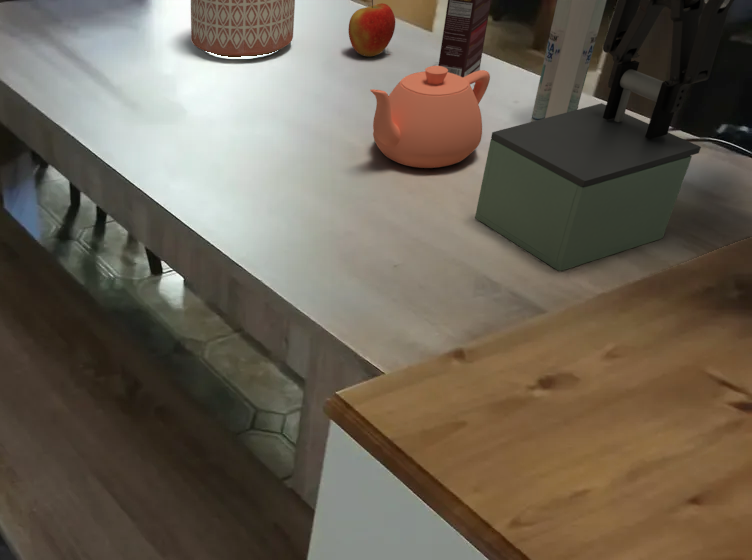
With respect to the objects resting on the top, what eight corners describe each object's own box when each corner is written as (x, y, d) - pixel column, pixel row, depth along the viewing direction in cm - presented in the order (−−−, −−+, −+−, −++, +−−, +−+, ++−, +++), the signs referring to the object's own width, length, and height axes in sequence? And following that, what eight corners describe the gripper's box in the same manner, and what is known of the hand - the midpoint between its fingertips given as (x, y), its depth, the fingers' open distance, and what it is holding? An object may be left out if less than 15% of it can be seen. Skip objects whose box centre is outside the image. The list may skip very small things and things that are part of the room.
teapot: (395, 192, 129) (407, 104, 121) (328, 154, 139) (335, 70, 131) (512, 153, 136) (531, 68, 128) (441, 120, 146) (454, 39, 138)
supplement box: (453, 66, 163) (469, -32, 153) (480, 71, 161) (498, -29, 150) (433, 82, 158) (449, -19, 148) (460, 87, 156) (478, -15, 145)
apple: (365, 65, 166) (372, 5, 159) (337, 52, 171) (342, -6, 164) (400, 55, 168) (408, -3, 162) (372, 43, 174) (378, -14, 167)
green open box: (572, 189, 127) (593, 111, 120) (662, 238, 116) (692, 156, 109) (474, 217, 122) (490, 138, 115) (559, 271, 112) (582, 188, 104)
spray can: (529, 114, 146) (560, -23, 133) (573, 116, 145) (609, -22, 132) (529, 130, 142) (561, -10, 129) (574, 133, 140) (612, -8, 127)
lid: (600, 109, 120) (615, 53, 115) (698, 153, 109) (720, 94, 105) (490, 138, 115) (502, 81, 110) (583, 187, 104) (599, 127, 100)
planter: (239, 23, 186) (241, -59, 176) (313, 43, 175) (319, -42, 165) (170, 48, 177) (168, -37, 167) (243, 71, 166) (245, -18, 156)
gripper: (604, -99, 103) (554, 106, 119) (751, -64, 90) (673, 161, 106) (655, -108, 105) (599, 94, 121) (805, -76, 92) (722, 147, 108)
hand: (634, 125), depth 113 cm, fingers closed on lid, 6 cm apart
